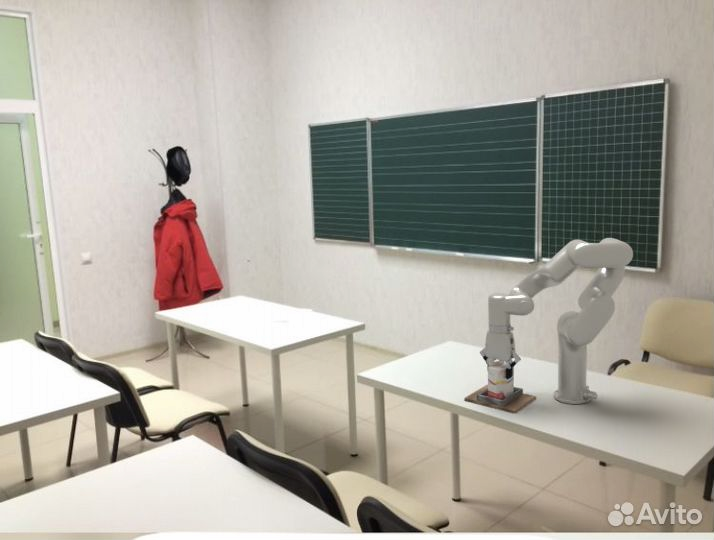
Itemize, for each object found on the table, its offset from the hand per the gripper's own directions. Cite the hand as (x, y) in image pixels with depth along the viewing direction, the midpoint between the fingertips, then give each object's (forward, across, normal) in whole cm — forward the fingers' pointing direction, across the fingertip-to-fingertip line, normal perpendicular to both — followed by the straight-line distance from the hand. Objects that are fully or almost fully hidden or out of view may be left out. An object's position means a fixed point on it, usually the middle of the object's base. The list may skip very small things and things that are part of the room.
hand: (500, 375), depth 220 cm
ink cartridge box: (+8, 0, 0) cm, 8 cm away
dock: (+9, 0, 0) cm, 9 cm away
